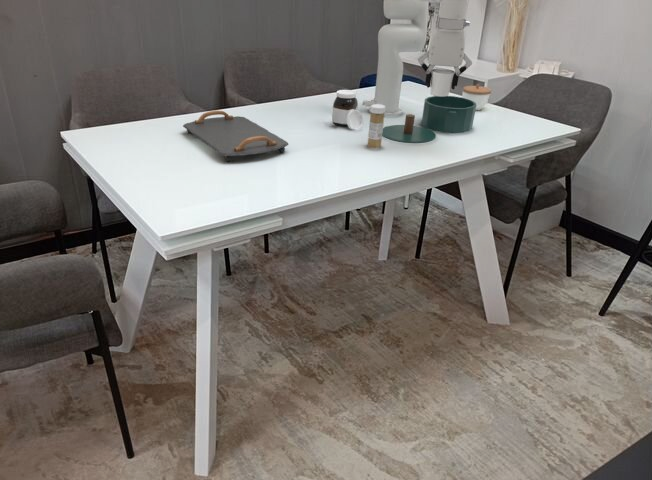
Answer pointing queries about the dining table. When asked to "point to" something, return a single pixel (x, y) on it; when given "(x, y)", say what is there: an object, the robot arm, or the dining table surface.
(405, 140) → the tin lid
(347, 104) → the spread jar
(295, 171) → the dining table surface
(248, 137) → the serving tray
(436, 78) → the white cup
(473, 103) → the tin
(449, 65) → the robot arm
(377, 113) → the sprinkles bottle
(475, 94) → the white lidded jar
